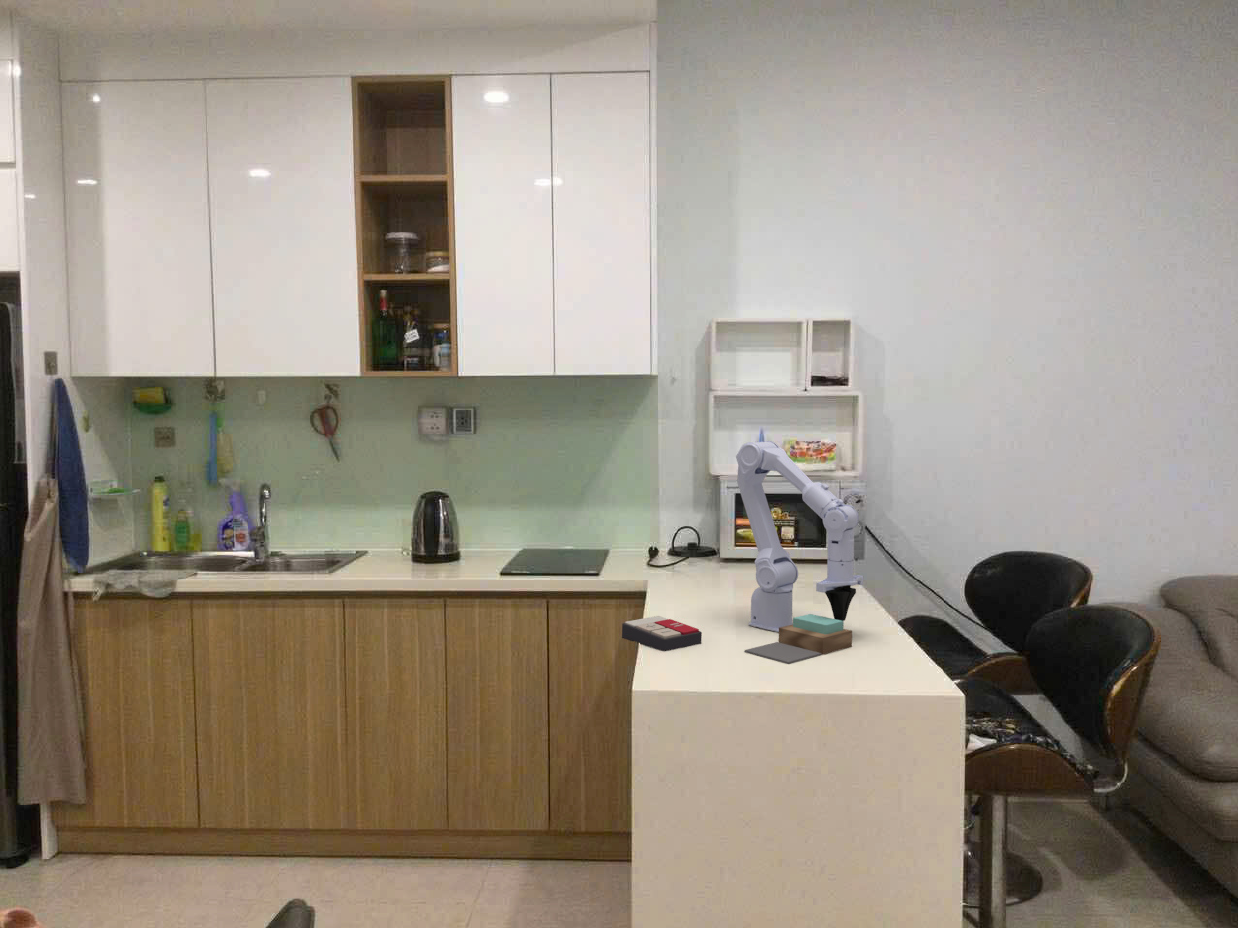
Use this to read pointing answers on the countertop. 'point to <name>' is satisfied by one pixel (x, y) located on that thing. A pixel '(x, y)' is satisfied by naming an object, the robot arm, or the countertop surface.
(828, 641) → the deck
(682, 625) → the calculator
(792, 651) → the mat
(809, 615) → the block
